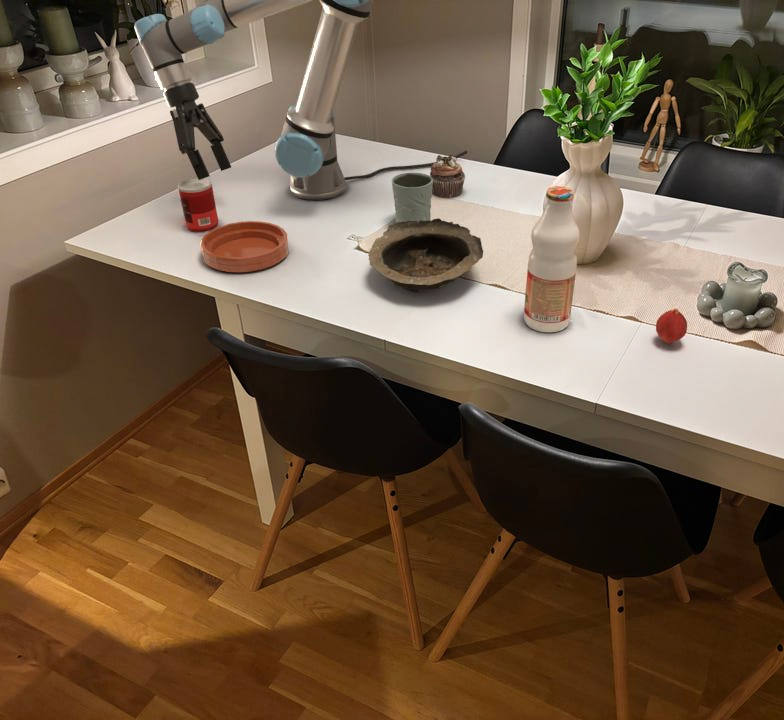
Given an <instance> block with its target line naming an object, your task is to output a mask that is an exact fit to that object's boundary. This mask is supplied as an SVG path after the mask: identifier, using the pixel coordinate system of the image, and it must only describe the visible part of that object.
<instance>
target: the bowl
mask: <svg viewBox="0 0 784 720" xmlns="http://www.w3.org/2000/svg"><path fill="white" fill-rule="evenodd" d="M200 249H201V255H202V259H203V261H204V263H205V264H206V265H208V266H209V267H210V268H213V269H215V270H217V271H222V272H227V273H248V272H256V271H259V270H260V271H261V270H264V269H267V268H270V267H273V266H275V265H277V264H278V263H280V262H281V261H283V260H284V259H285V258H286V257H287V256H288V254H289V252H290V250H289V249H290V248H289V238H288V233H287V232H286V230H285V229H284V228H283V227H281V226H279V225H277V224H274V223H271V222H267V221H258V220H257V221H255V220H247V221H245V220H244V221H238V222H233V223H227V224H223V225H220V226H218V227H215V228H213V229H211V230H209V231H208V232H207V233H206V234H205V235H204V236H203V237H202V238H201V240H200Z"/></svg>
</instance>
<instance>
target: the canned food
mask: <svg viewBox="0 0 784 720" xmlns="http://www.w3.org/2000/svg"><path fill="white" fill-rule="evenodd" d="M177 190H178V195H179V200H180V204H181V208H182V213H183V217H184V222H185V226H186V228H187V229H188V230H189V231H191V232H196V233H203V232H207V231H208V232H209V231H211V230H214V229H216V228H217V226H218V225H219V217H218V212H217V206H216V200H215V194H214V189H213V184H212V181H211V180H210V179H208V178H204V179H201V180H198V177H194V178H190V179H189V178H188V179H184V180H183V181H181V182H179V183H178V185H177Z"/></svg>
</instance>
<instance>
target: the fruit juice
mask: <svg viewBox="0 0 784 720" xmlns="http://www.w3.org/2000/svg"><path fill="white" fill-rule="evenodd" d="M545 199H546V204H545V206H544V209H543V212H542V213H541V216H540V218H539V219H538V220H537V221H536V222H535V224H534V225H533V226H532V229H531V234H530V241H531V245H532V247H531V248H532V249H531V250H530V252H529V255H528V261H527V270H526V271H527V272H526V284H525V294H524V295H525V296H524V307H523V320H524V322H525V324H526V325H527V326H528V327H529V328H530V329H532V330H534V331H537V332H541V333H556V332H561V331H563V330H564V329H565V328H567V327H568V326H569V324H570V320H571V315H572V306H573V299H574V291H575V283H576V277H577V276H576V275H577V269H578V256H577V253H576V250H577V249H578V246H579V243H580V238H581V233H580V228H579V227H578V224H577V223H576V220H575V217H574V213H573V208H572V202H573V200H574V191H573V189H571V188H570V187H566V186H557V185H556V186H550V187H548V188H547V190H546V193H545Z"/></svg>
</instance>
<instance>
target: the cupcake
mask: <svg viewBox="0 0 784 720" xmlns="http://www.w3.org/2000/svg"><path fill="white" fill-rule="evenodd" d="M455 156H456V155H453V154H450V155H448V156H443V155H440V154H438V155H437V156H436V158H435V160H436V161H434V162H435V163H434V164H433V165H432V166H430V172H429V176H430V177H432V179H433V185H432V192H433V194H434V195H435V196H437V197H440V198H445V199H446V198H447V199H449V198H450V199H451V198H456V197H459V196H460V195H462V194H463V189H464V182H465V180H466V174H465V172H464V171H463V168H462V165H461V163H460V164H459V163H458V162H456V161H457V158H456V157H455Z"/></svg>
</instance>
